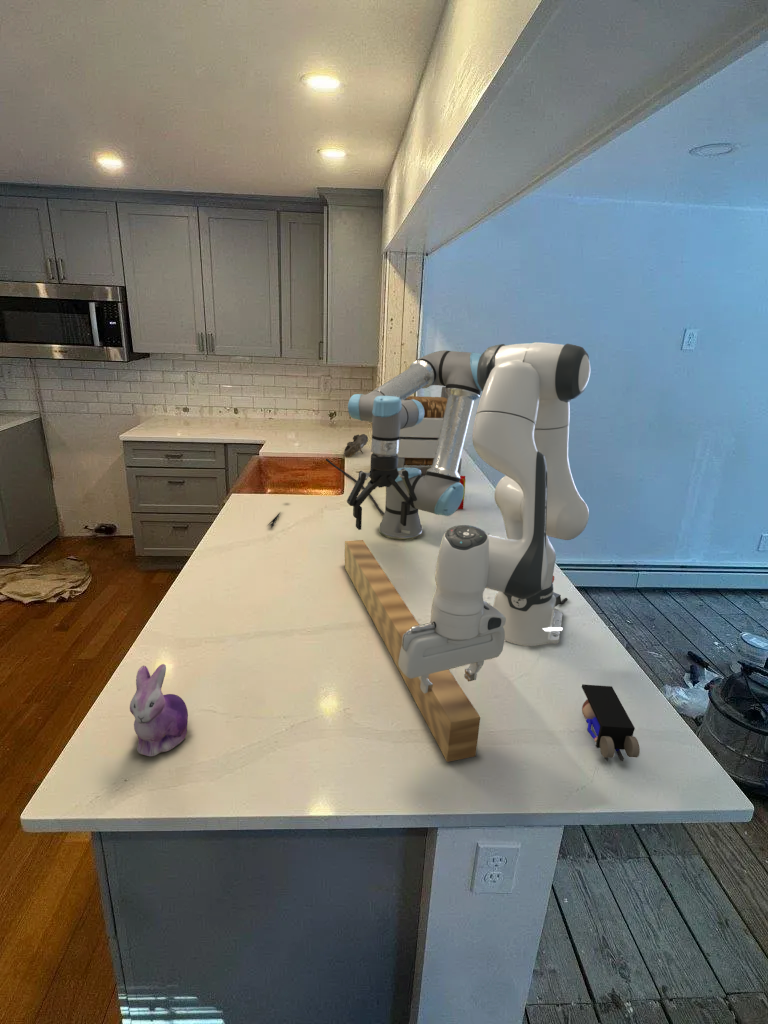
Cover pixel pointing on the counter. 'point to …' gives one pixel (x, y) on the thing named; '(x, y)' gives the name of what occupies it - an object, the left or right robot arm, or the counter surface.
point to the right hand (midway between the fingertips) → (448, 684)
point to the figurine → (157, 714)
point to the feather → (273, 520)
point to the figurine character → (609, 722)
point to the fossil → (356, 445)
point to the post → (392, 618)
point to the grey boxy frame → (423, 433)
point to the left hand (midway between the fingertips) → (381, 526)
